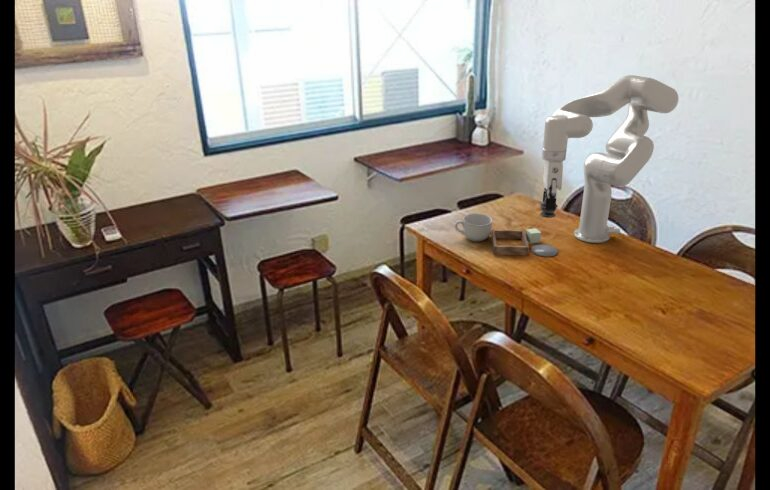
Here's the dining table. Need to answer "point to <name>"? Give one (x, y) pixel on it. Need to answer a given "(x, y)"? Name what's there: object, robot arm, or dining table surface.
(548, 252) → the slate coaster
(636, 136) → the robot arm
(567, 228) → the dining table surface
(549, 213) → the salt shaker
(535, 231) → the sage block
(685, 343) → the dining table surface
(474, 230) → the teacup
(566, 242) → the dining table surface
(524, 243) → the walnut corral
